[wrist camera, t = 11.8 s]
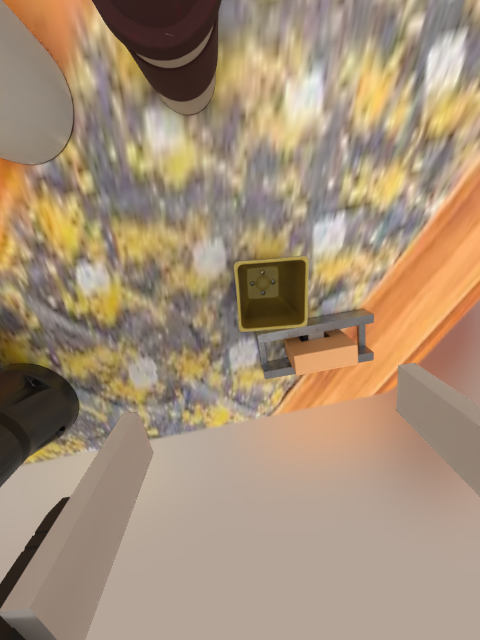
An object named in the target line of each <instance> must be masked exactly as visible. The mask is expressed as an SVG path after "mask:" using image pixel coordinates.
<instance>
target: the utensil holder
mask: <svg viewBox="0 0 480 640" xmlns="http://www.w3.org/2000/svg"><path fill="white" fill-rule="evenodd" d="M72 126H73V104H72V99H71V94H70V91H69V88H68V85H67V82H66V80H65V78H64V75H63V73H62V72H61V70H60V68H59V66H58V65H57V63H56V62H55V61H54V59H53V58H52V56H51V55H50V54H49V53H48V51H47V50H46V49H45V48H44V47H43V46H42V44H41V43H40V42H39V41H38V40H37V39H36V38H35V36H34V35H33V34H32V33H31V32H30V31H29V30H28V29H27V27H26V26H25V25H24V24H23V23H22V22H21V21H20V19H19V18H18V17H17V16H16V15H15V14H14V13H13V11H12V10H11V9H10V8H9V7H8V6H7V5H6V4H5V3H4V2H3V0H0V158H3V159H6V160H9V161H12V162H16V163H20V164H28V165H34V164H40V163H44V162H46V161H49V160H51V159H52V158H54V157H55V156H57V155H58V154H59V153H60V152H61V151H62V149H63V148H64V147H65V145H66V143H67V142H68V140H69V137H70V135H71V131H72Z"/></svg>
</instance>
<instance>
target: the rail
mask: <svg viewBox="0 0 480 640" xmlns="http://www.w3.org/2000/svg"><path fill="white" fill-rule="evenodd" d="M369 323H374V314H372V313H371V312H369V311H367V310H365V309H359V310H353V311H348V312H342V313H337V314H332V315H326V316H321V317H315V318H310V319H308V320H307V325H306V326H304V327H296V328H283V329H271V330H260V331H256V334H257V340H258V346H259V352H260V357H261V363H262V369H263V373H264V377H265V379H269V378H275V377H281V376H286V375H292V374H296V373H295V371H294V369H293V367H292V365H291V363H290V361H289V359H288V358H286V359H281V360H275V361H270V362H267V357H266V351H265V345H264V342H270V341H275V340H281V339H286V338H292V337H297V336H304V341H309V340H314V339H319V338H324V332H325V331H330V330H336V329H341V328H347V327H352V326H357V331H358V363H359V362H365V361H370V360H373V352H372V351H371V350H370V349H369V348H367V347H366V346H365V324H369Z"/></svg>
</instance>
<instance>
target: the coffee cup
mask: <svg viewBox="0 0 480 640" xmlns="http://www.w3.org/2000/svg"><path fill="white" fill-rule="evenodd" d="M92 1H93V3H94V5H95V6H96V8H97V10H98V12H99V13H100V15H101V17H102V19H103V20H104V22H105V23H106V25H107V26H108V28H109V29H110V30H111V31H112V33H113V34H114V35H115V36H116V37H117V38H118V39H119V40H120V41H121V42H122V43H123V44H124V45H125V46H126V47H127V49H128V51H129V52H130V54H131V55H132V57H133V58H134V60H135V61H136V63H137V64H138V66H139V68H140V69H141V71H142V72H143V74H144V75H145V77H146V78H147V80H148V81H149V83H150V84H151V85H152V87H153V88H154V89H155V90H156V91H157V92H158V94H159V95H160V97H161V98H162V100H163V101H164V102H165V104H166V105H167V106H168V107H170V108H171V109H172V110H174V111H176V112H178V113H181V114H185V115H190V114H195V113H197V112H199V111H201V110H202V109H204V108H205V106H206V105H207V104H208V103H209V101H210V99H211V97H212V95H213V92H214V88H215V71H216V66H217V56H218V11H219V7H220V4H221V0H92Z"/></svg>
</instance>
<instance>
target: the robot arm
mask: <svg viewBox="0 0 480 640" xmlns="http://www.w3.org/2000/svg"><path fill="white" fill-rule="evenodd" d="M78 411H79V404H78V399H77V397H76V394H75V392H74V391H73V389H72V388H71V386H70V385H69V384H68V383H67V382H66V381H65V380H64V379H63V378H62V377H60V376H59V375H57V374H56V373H54V372H52V371H50V370H48V369H46V368H43V367H40V366H36V365H31V364H15V365H10V366H7V367H4V368H2V369H1V370H0V487H1V486H2V485H3V483H4V482H5V481H6V480H7V479H8V478H9V477H10V476H11V475H12V474H13V473H14V472H15V470H17V469H18V467H19V466H20V465H21V464H22V463H23V462H24V461H25V460H26V459H27V458H28V457H29V456H31V455H32V454H34V453H35V452H37V451H39V450H40V449H42V448H43V447H45V446H47V445H48V444H50V443H51V442H53V441H54V440H56V439H58V438H59V437H61V436H62V435H63V434H64V433H65V432H66V431H67V430H68V429H69V428H70V426H71V425H72V424H73V423H74V422H75V420H76V418H77V416H78ZM396 411H397V412H398V413H399V414H400V415H401V416H402V417H403V418H404V419H405V420H406V421H407V422H408V423H409V424H410V425H411V426H412V427H413V428H414V429H415V430H416V431H417V432H418V433H419V435H420V436H421V437H422V438H423V439H424V440H425V441H426V442H427V443H428V444H429V445H430V446H431V447H432V448H433V449H434V450H435V451H436V452H437V453H438V454H439V455H440V456H441V457H442V458H443V459H444V460H445V461H446V462H447V463H448V464H449V465H450V466H451V467H452V468H453V469H454V471H455V472H457V474H458V475H459V476H460V477H461V478H462V479H463V480H464V481H465V482H466V483H467V484H468V485H469V486H470V487H471V488H472V489H473V490H474V491H475V492H476V493H477V494H478V495H479V496H480V406H479V405H477V404H476V403H474V402H473V401H471V400H469V399H468V398H467V397H465V396H463V395H462V394H460V393H459V392H457V391H456V390H454V389H453V388H451V387H450V386H448V385H447V384H445V383H444V382H442V381H441V380H439V379H438V378H436V377H435V376H433V375H432V374H430V373H429V372H427V371H426V370H424V369H423V368H421V367H420V366H418V365H417V364H415V363H409V364H404V365H398V387H397V409H396ZM152 455H153V450H152V448H151V446H150V443H149V440H148V438H147V435H146V433H145V430H144V428H143V425H142V423H141V420H140V418H139V415H138V412H132V413H127V414H122V416H121V417H120V419H119V420H118V422H117V424H116V425H115V427H114V428H113V430H112V432H111V433H110V435H109V436H108V438H107V440H106V441H105V443H104V444H103V446H102V448H101V449H100V451H99V453H98V454H97V456H96V457H95V459H94V460H93V462H92V464H91V465H90V467H89V468H88V470H87V472H86V473H85V475H84V476H83V478H82V479H81V481H80V483H79V484H78V486H77V488H76V489H75V491H74V492H73V494H72V495H71V497H66V498H62V499H61V501H59V503H58V504H56V506H55V507H54V508H53V509H52V510H51V511H50V512H49V513H48V514H47V515H46V517H45V518H44V520H43V521H42V523H41V524H40V526H39V527H38V529H37V530H36V532H35V535H34V536H32V538H31V539H30V541H29V542H28V544H27V545H26V546H25V550H24V551H23V552H21V554H20V556H19V557H18V558H17V560H16V561H15V563H14V564H13V566H12V567H11V569H10V570H9V572H8V573H7V575H6V576H5V578H4V579H3V581H2V582H1V584H0V640H85V639H86V636H87V633H88V631H89V628H90V625H91V622H92V620H93V617H94V614H95V611H96V609H97V606H98V603H99V601H100V598H101V595H102V592H103V590H104V587H105V584H106V581H107V578H108V576H109V573H110V570H111V568H112V565H113V562H114V559H115V557H116V554H117V551H118V549H119V546H120V543H121V540H122V537H123V535H124V532H125V529H126V527H127V524H128V521H129V518H130V516H131V513H132V510H133V508H134V505H135V502H136V499H137V497H138V494H139V491H140V488H141V485H142V483H143V480H144V477H145V475H146V472H147V469H148V466H149V464H150V461H151V458H152Z"/></svg>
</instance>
